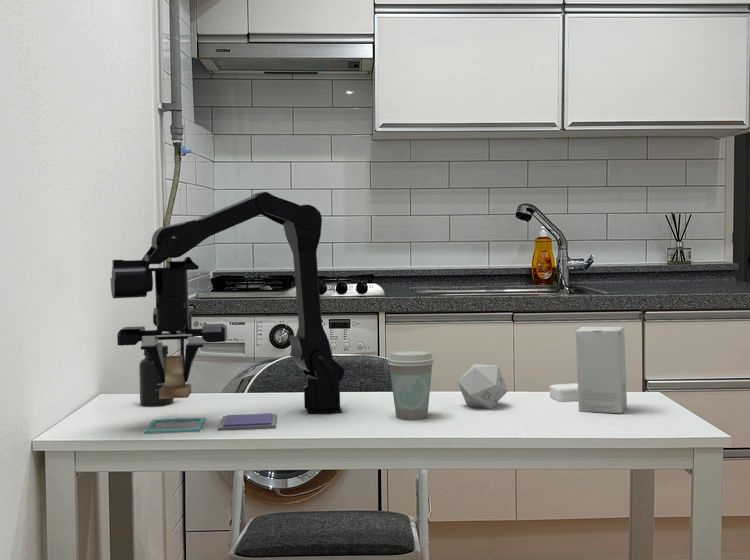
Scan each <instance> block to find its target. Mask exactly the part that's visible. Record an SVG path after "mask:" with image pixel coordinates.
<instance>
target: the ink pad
mask: <svg viewBox="0 0 750 560" xmlns="http://www.w3.org/2000/svg"><path fill="white" fill-rule="evenodd" d="M277 417H278V413H271V412H269V413H249V414H248V413H247V414H227V415H222V417H221V420H220V422H219V425H218V427H217V428H218V431H239V430H244V431H245V430H263V429H264V430H265V429H267V430H269V429H276V427H277V419H278V418H277Z"/></svg>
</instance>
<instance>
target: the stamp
mask: <svg viewBox="0 0 750 560" xmlns="http://www.w3.org/2000/svg"><path fill="white" fill-rule="evenodd" d="M184 369H185V355H169V356H168V355H167V357H164V375H165V385H163V386H162V387H161V388H160V389H159V399H166V398H174V399H183V398H185V399H187V398H189V396H190V395H191V394H192V383H186V382H185V378H184Z"/></svg>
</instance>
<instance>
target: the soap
mask: <svg viewBox="0 0 750 560" xmlns="http://www.w3.org/2000/svg"><path fill="white" fill-rule="evenodd" d="M549 397H550V399H552V400H554V401H557V402H559V403H566V402H568V403H569V402H578V382H576V383H575V382H573V383H559V384H557V383H556V384H551V385H550V386H549Z"/></svg>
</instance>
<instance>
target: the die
mask: <svg viewBox="0 0 750 560" xmlns="http://www.w3.org/2000/svg"><path fill="white" fill-rule="evenodd" d="M456 383H457V385H458V387H459V389H460V391H461V394H462V396H463V399H464V402H465V404H466V406H467V407H472V408H479V409H480V408H482V409H488V410H491V409H493V408H494V406H496V404H497V403H498V402H499V401H500V400H501V399H502V398H503V397H505V395H506V394H507V393H508V391H509V390H508V386H507V384H506V381H505V379H504V378H503V375H502V373H501V369H500V367H499V365H494V364H483V363H481V364H480V363H474V364H473V365H471V367H469V368H468V370H466V372H465V373H464V374H463V375H462V376H461V377H460V378H459V379H458V380H457V381H456Z"/></svg>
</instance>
